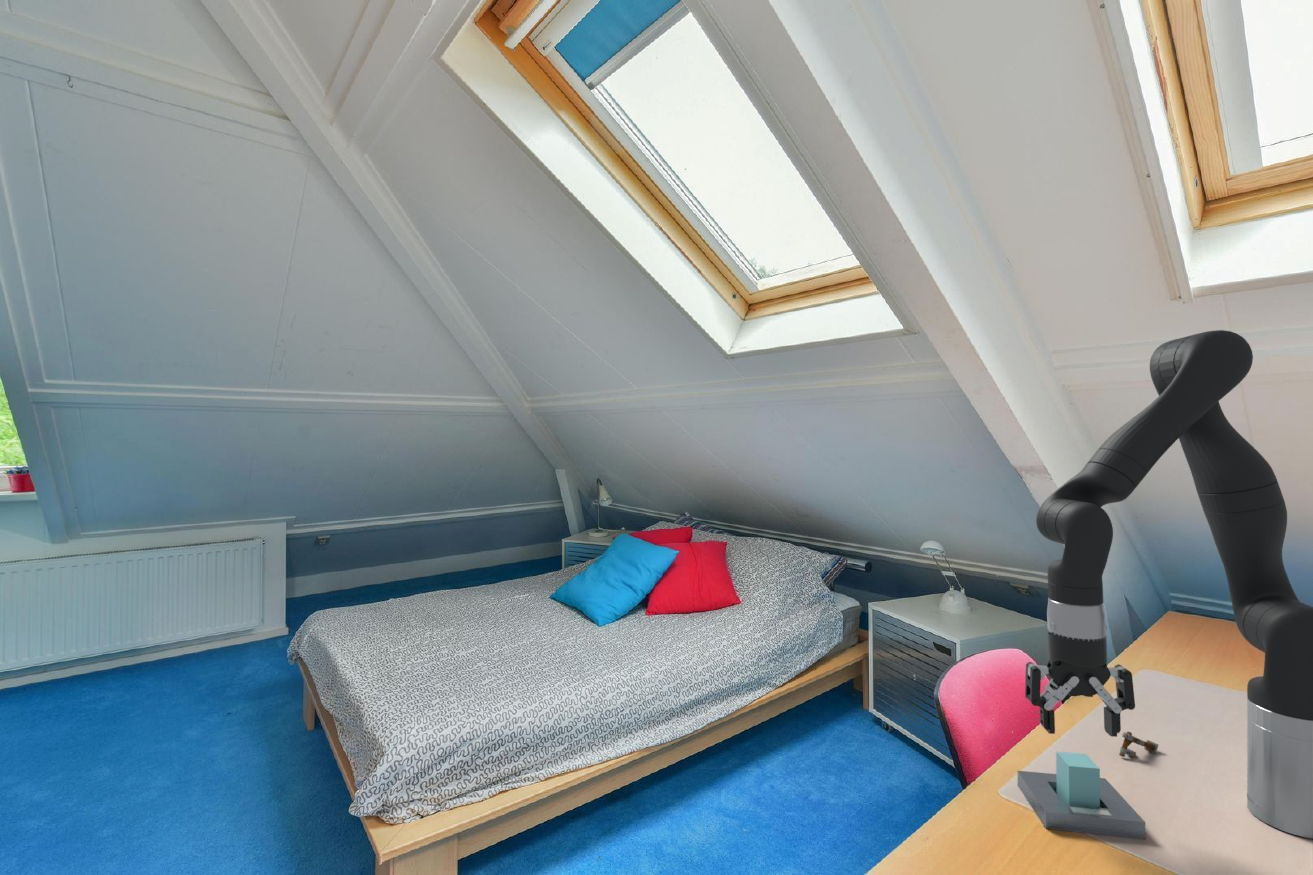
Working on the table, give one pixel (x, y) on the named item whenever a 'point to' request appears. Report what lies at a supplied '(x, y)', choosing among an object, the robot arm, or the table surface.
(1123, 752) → the brown piece
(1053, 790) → the rail plate
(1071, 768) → the teal peg
